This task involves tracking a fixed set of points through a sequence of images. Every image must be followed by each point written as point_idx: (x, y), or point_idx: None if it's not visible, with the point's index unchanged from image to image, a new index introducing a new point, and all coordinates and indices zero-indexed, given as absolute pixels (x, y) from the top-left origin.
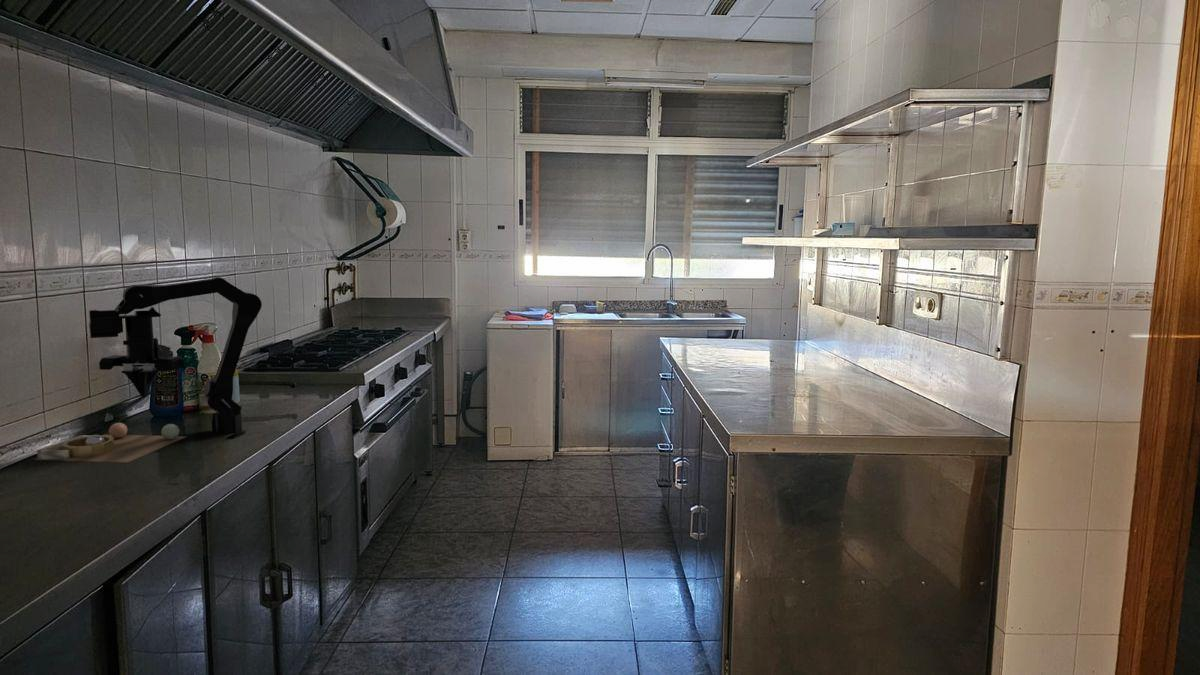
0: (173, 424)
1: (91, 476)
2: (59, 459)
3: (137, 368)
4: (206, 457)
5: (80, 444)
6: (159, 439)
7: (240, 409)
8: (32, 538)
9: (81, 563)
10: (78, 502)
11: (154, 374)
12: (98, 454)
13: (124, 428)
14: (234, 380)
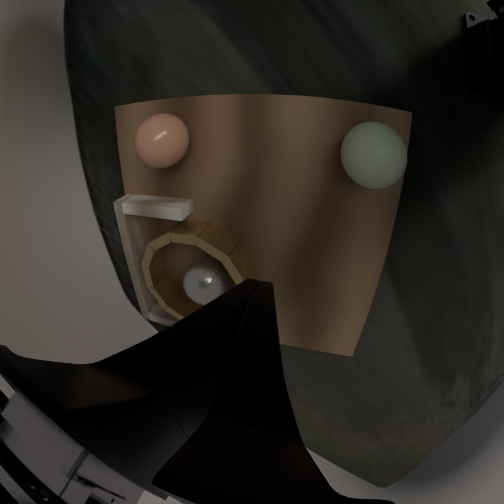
0: (391, 155)
1: (310, 377)
2: None
3: (114, 485)
4: (497, 296)
5: (160, 252)
6: (329, 149)
7: None
8: (351, 465)
9: (400, 476)
10: (350, 435)
11: (294, 454)
12: None
13: (179, 145)
14: None
